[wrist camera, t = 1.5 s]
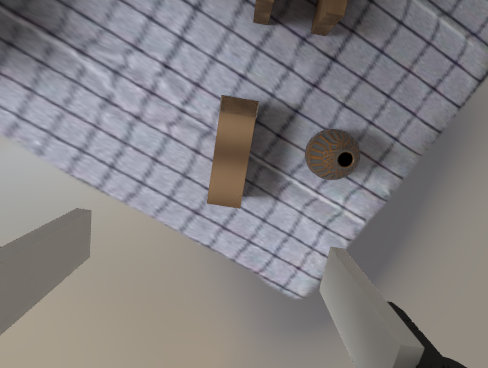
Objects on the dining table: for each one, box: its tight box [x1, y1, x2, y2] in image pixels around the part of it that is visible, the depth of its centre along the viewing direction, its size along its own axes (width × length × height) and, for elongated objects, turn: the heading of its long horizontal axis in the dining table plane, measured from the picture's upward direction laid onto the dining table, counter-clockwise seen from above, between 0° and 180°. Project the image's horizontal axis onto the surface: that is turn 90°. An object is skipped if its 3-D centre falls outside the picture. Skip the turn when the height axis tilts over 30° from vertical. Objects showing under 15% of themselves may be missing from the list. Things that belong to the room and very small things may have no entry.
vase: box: [305, 129, 360, 180], centre depth 36 cm, size 7×7×9 cm
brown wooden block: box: [207, 95, 259, 209], centre depth 37 cm, size 14×5×6 cm, turn 170°
